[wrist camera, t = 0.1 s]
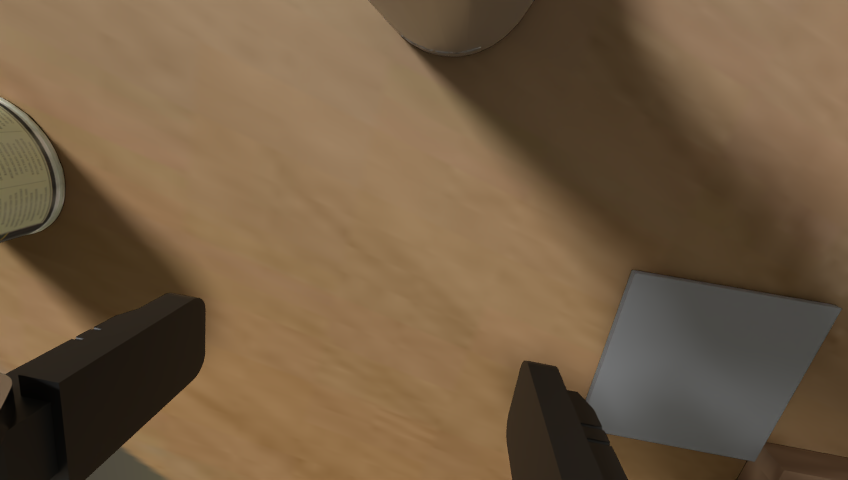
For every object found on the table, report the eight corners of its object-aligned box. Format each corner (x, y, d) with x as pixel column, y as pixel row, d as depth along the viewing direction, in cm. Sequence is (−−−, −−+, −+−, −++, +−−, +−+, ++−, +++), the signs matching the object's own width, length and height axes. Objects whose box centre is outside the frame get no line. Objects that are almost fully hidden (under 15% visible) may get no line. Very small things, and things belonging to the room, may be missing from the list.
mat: (632, 269, 26) (635, 272, 26) (835, 304, 26) (841, 308, 25) (577, 423, 31) (579, 428, 30) (750, 456, 30) (754, 461, 30)
